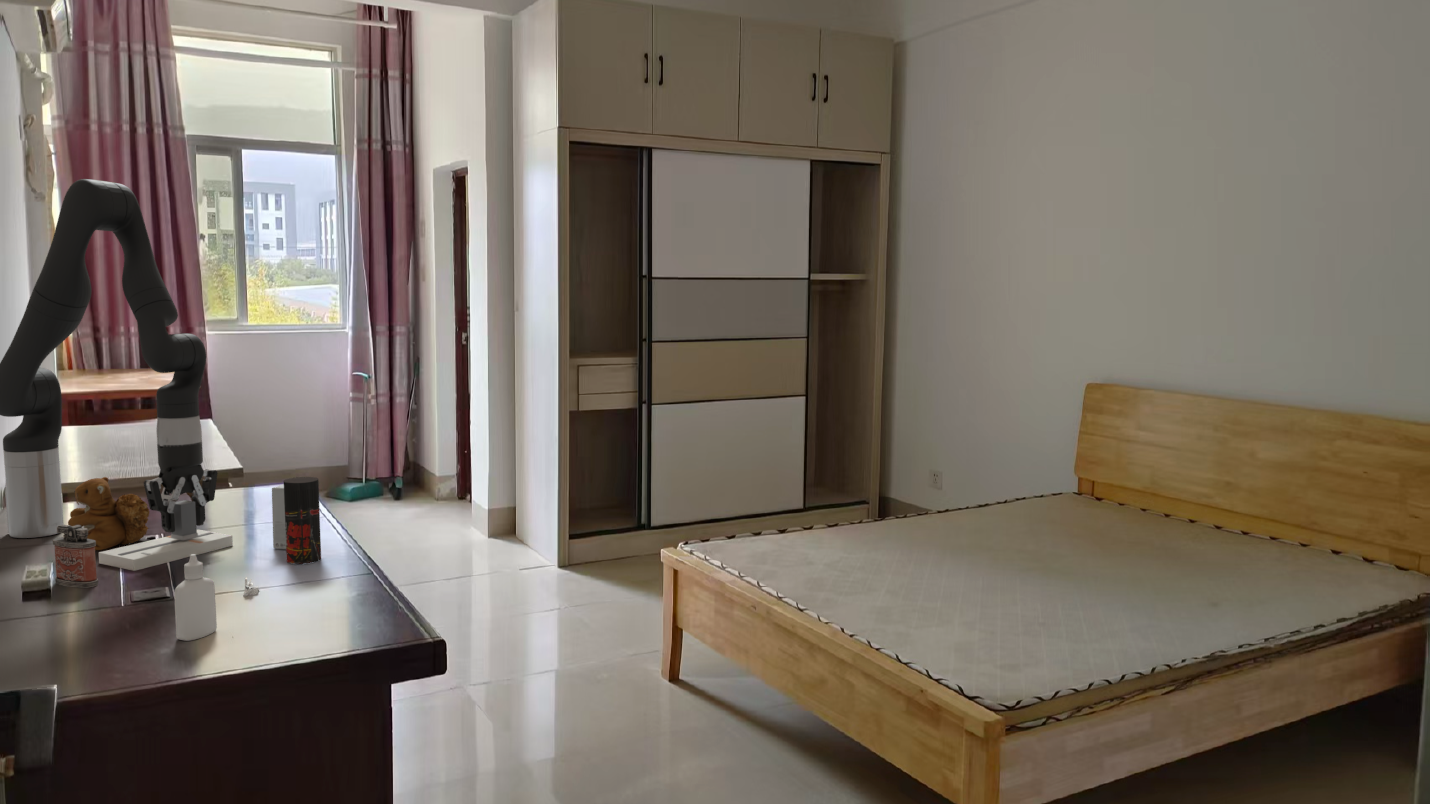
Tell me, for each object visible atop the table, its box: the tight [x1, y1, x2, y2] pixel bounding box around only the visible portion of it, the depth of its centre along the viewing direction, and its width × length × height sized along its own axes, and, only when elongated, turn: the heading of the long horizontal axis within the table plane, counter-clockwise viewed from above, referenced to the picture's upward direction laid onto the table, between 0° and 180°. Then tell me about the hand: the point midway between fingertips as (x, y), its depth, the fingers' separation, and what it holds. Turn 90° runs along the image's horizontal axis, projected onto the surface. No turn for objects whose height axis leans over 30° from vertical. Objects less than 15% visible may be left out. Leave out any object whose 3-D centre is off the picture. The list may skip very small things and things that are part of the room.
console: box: [98, 529, 234, 572], centre depth 193 cm, size 10×20×2 cm, turn 153°
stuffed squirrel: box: [67, 476, 150, 552], centre depth 199 cm, size 10×14×13 cm
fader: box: [170, 499, 198, 540], centre depth 196 cm, size 4×3×7 cm
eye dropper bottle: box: [173, 554, 218, 642], centre depth 149 cm, size 4×6×12 cm
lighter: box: [52, 524, 99, 589], centre depth 174 cm, size 8×3×10 cm, turn 71°
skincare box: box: [271, 483, 286, 550], centre depth 199 cm, size 6×4×12 cm
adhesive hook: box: [242, 577, 260, 597], centre depth 170 cm, size 3×3×3 cm
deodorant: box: [283, 476, 322, 565], centre depth 189 cm, size 6×6×15 cm
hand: (184, 528), depth 196 cm, fingers open, 5 cm apart
